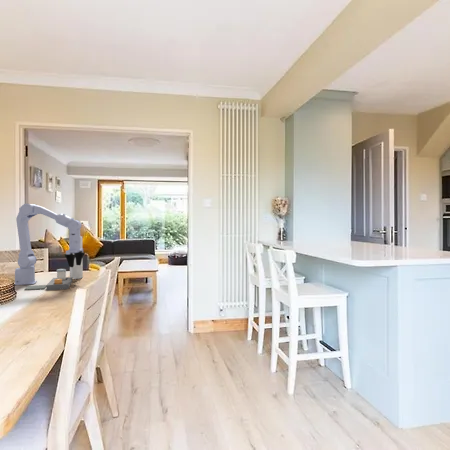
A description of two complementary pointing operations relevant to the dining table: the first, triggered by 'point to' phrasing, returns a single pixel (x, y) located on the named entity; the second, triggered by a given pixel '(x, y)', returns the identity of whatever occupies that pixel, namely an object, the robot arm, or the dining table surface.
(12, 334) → the dining table surface
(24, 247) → the robot arm
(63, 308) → the dining table surface
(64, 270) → the cylinder
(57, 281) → the release plunger
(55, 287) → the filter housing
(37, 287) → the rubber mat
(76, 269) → the cylindrical container
